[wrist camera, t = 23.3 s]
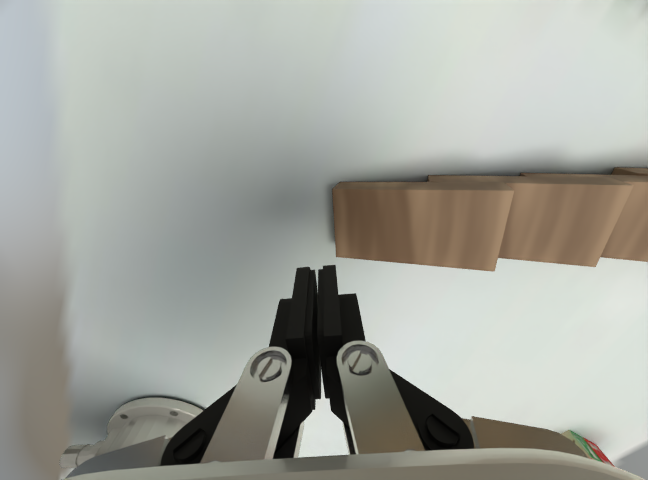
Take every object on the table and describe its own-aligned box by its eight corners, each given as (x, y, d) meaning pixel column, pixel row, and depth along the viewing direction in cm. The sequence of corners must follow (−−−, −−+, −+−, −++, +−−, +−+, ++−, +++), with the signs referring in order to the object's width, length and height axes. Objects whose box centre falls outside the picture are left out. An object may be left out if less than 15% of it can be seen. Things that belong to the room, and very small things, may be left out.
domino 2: (420, 250, 19) (595, 266, 16) (429, 181, 16) (633, 185, 13) (420, 238, 20) (577, 251, 17) (428, 175, 18) (609, 177, 15)
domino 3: (509, 248, 19) (700, 266, 16) (531, 178, 16) (758, 185, 13) (501, 236, 20) (672, 251, 17) (520, 172, 18) (719, 177, 15)
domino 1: (336, 256, 19) (494, 271, 16) (332, 189, 17) (514, 190, 14) (342, 244, 20) (486, 255, 17) (340, 181, 18) (503, 181, 15)
